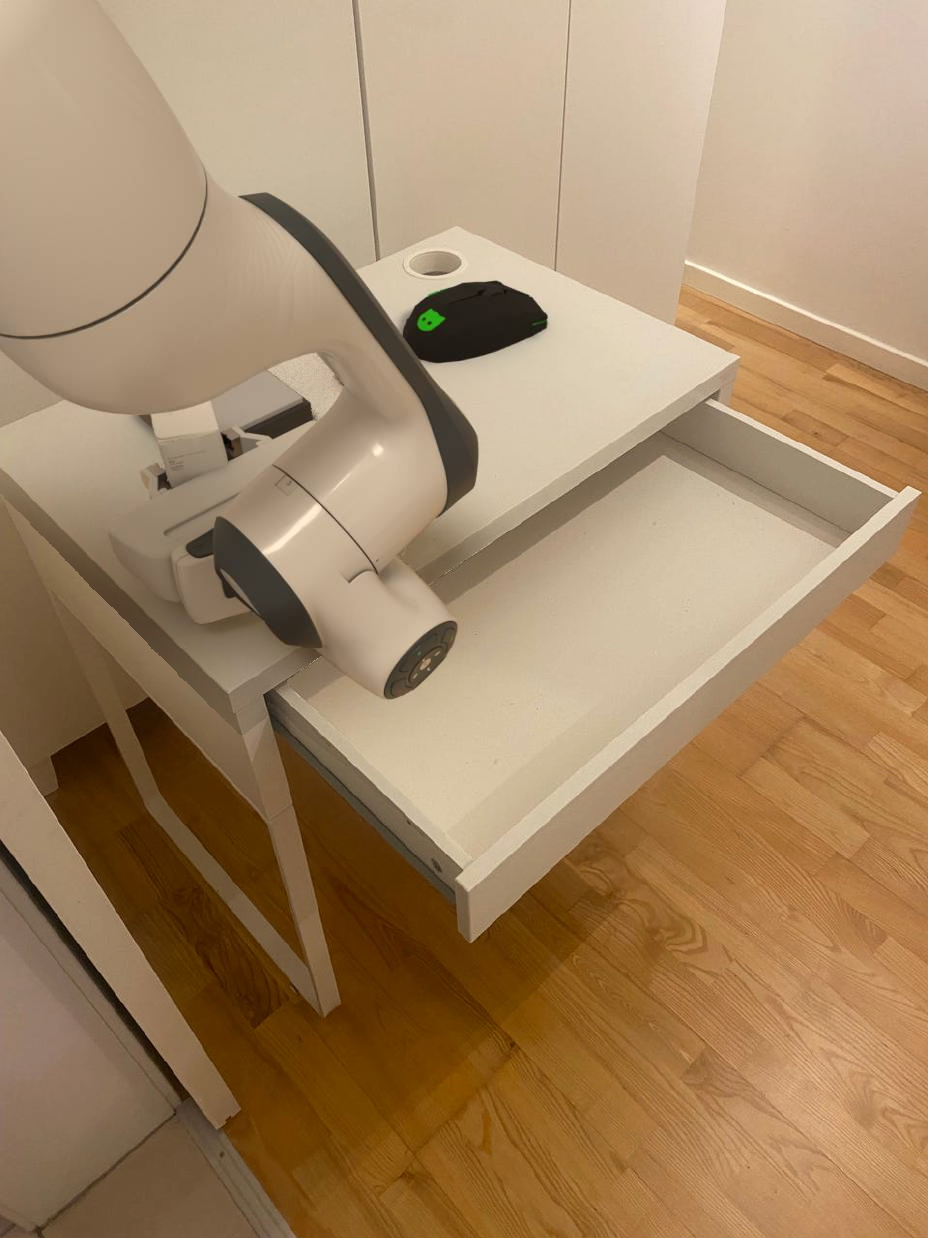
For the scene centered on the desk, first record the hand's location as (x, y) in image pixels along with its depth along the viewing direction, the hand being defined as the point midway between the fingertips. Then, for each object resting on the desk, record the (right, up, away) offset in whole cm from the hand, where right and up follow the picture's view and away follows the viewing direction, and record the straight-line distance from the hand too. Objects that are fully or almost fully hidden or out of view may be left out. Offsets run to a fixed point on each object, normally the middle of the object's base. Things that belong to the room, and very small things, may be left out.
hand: (189, 454), depth 79 cm
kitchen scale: (0, +6, +14) cm, 15 cm away
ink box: (+1, -5, +5) cm, 7 cm away
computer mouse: (+23, +18, +26) cm, 39 cm away
